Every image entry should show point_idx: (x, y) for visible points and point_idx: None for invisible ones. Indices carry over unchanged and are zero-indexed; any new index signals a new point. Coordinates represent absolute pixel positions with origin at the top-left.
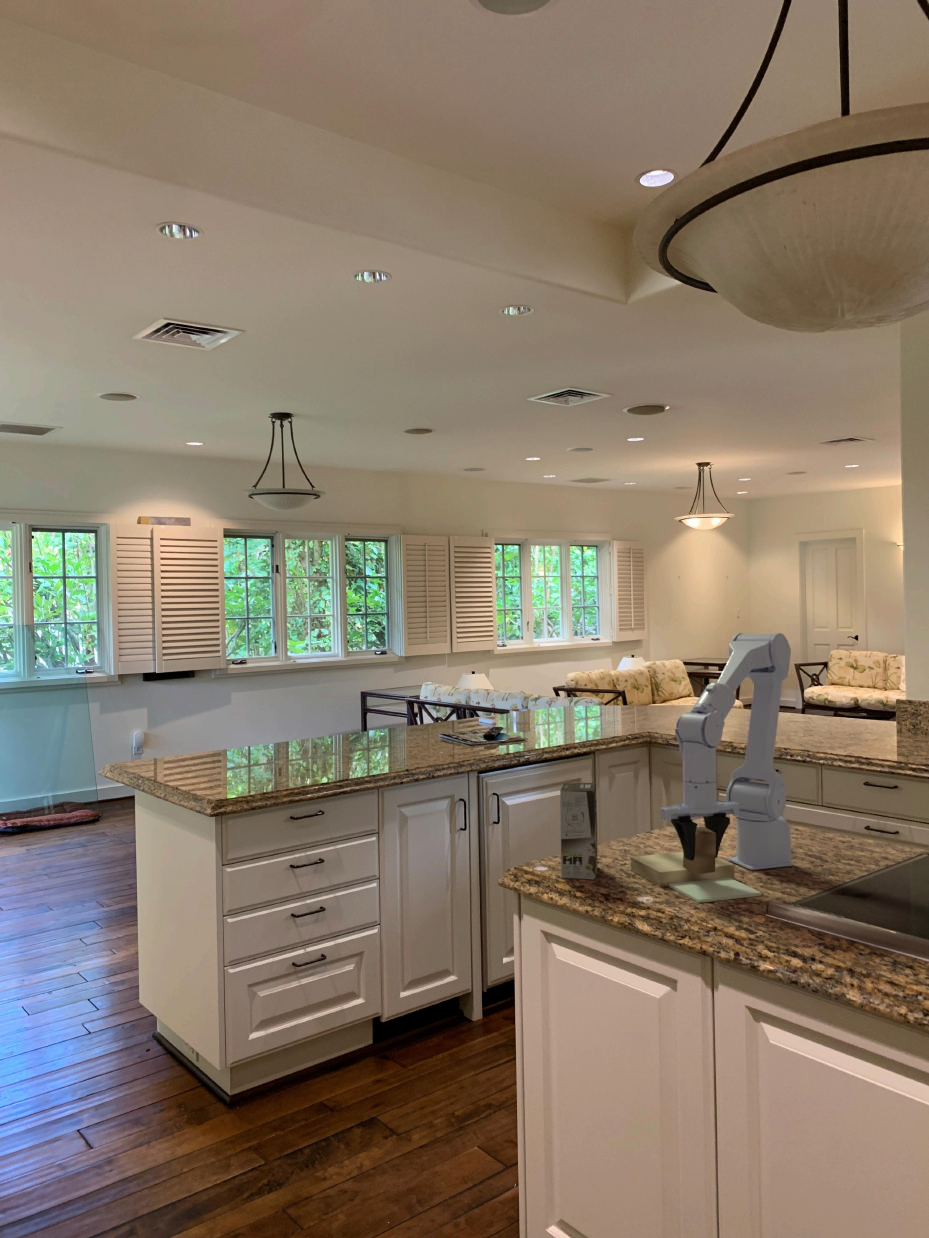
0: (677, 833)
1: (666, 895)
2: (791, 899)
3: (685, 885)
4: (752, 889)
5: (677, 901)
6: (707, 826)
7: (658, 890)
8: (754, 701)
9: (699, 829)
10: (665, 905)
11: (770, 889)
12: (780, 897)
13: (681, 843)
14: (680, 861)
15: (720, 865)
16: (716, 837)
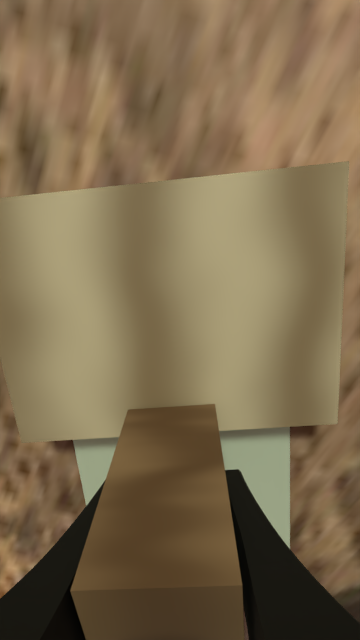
0: (25, 576)
1: (39, 484)
2: (340, 581)
3: (113, 451)
4: (283, 526)
5: (52, 529)
6: (255, 621)
7: (31, 442)
8: None
9: (174, 623)
10: (12, 545)
11: (346, 508)
12: (325, 564)
13: (73, 525)
14: (153, 330)
15: (278, 421)
16: (249, 633)
